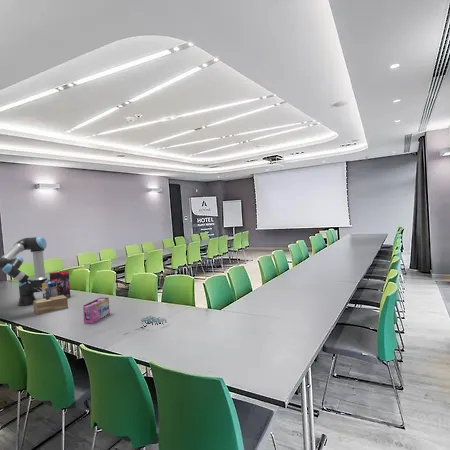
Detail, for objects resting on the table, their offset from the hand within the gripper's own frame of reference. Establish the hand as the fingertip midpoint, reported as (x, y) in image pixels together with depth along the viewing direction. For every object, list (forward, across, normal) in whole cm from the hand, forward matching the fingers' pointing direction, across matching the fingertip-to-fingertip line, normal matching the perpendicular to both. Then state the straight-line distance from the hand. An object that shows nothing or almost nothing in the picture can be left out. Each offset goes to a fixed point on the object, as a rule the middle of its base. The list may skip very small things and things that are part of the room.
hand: (43, 291), depth 271 cm
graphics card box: (+28, -35, +3) cm, 45 cm away
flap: (+6, -1, -6) cm, 9 cm away
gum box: (+30, +58, +5) cm, 66 cm away
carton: (+16, -1, -9) cm, 19 cm away
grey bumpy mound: (+40, +110, +14) cm, 118 cm away
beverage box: (+19, -18, -6) cm, 27 cm away
